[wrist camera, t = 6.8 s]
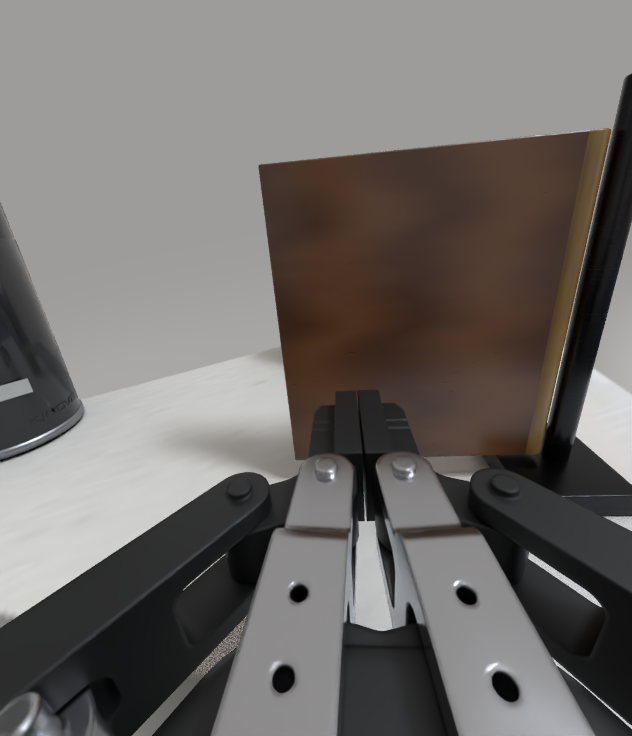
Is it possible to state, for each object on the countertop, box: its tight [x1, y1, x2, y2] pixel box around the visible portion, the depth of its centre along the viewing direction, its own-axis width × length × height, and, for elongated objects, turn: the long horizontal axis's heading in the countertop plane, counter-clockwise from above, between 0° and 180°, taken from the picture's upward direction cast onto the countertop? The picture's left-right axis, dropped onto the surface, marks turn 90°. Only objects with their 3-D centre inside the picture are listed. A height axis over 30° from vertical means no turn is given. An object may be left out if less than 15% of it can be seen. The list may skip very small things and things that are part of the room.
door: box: [259, 128, 611, 460], centre depth 15 cm, size 13×1×14 cm, turn 86°
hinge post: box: [483, 74, 632, 516], centre depth 15 cm, size 5×6×17 cm
